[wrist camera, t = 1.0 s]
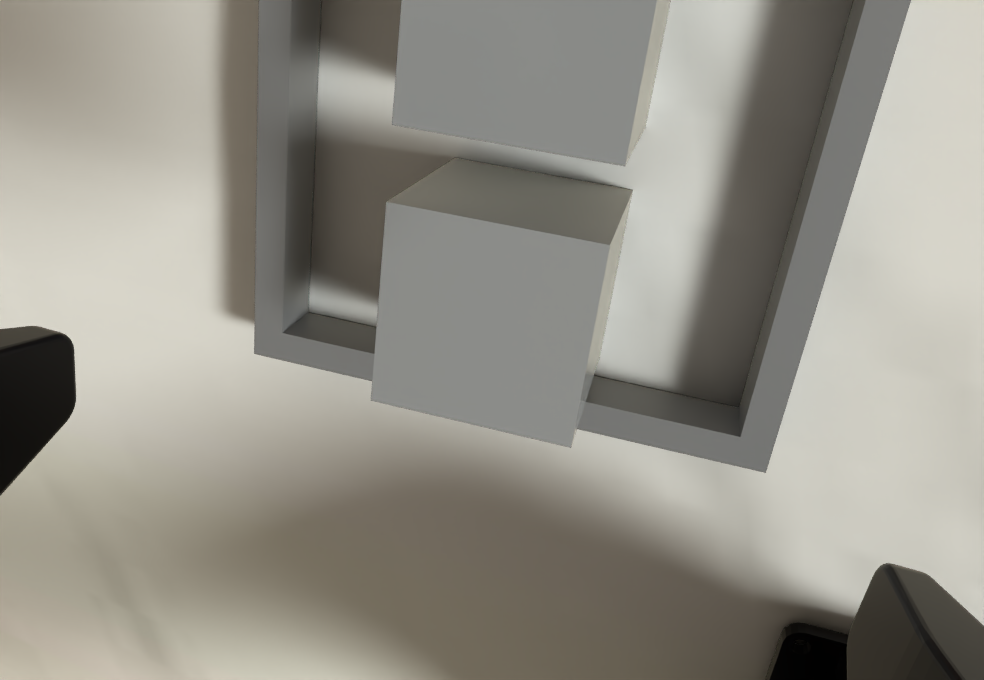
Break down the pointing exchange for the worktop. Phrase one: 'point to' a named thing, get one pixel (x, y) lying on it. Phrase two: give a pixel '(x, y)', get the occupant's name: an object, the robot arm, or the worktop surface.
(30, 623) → the worktop surface
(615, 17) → the matte grey cube
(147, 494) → the worktop surface
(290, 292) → the parts tray
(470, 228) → the pale grey block
